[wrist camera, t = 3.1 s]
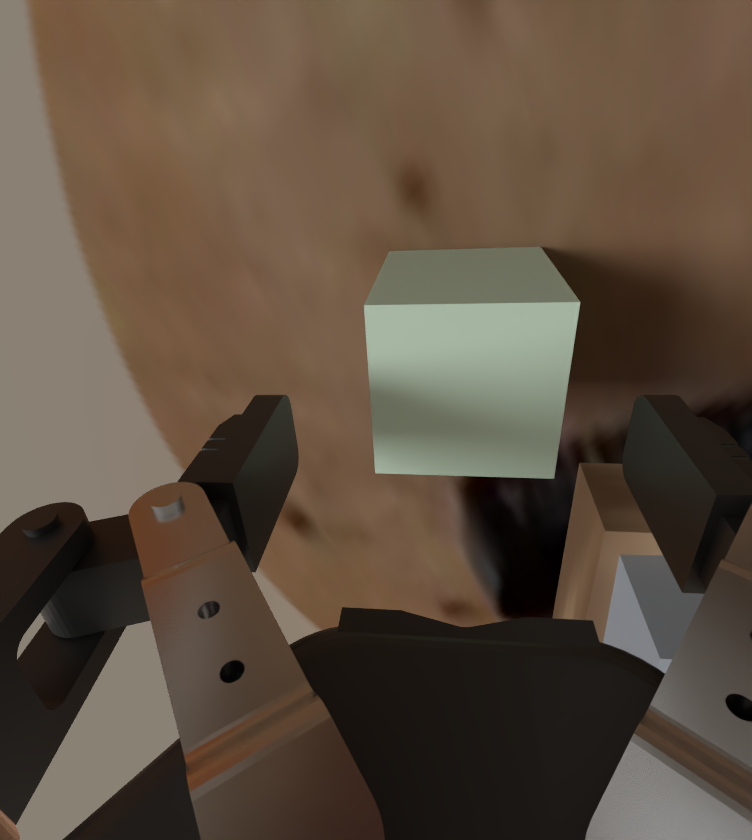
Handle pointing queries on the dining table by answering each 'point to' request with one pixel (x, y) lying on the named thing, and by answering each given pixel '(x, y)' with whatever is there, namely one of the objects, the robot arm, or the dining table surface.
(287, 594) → the dining table surface
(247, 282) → the dining table surface
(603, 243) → the dining table surface
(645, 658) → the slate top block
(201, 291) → the dining table surface
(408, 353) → the sage block
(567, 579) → the walnut base slab
